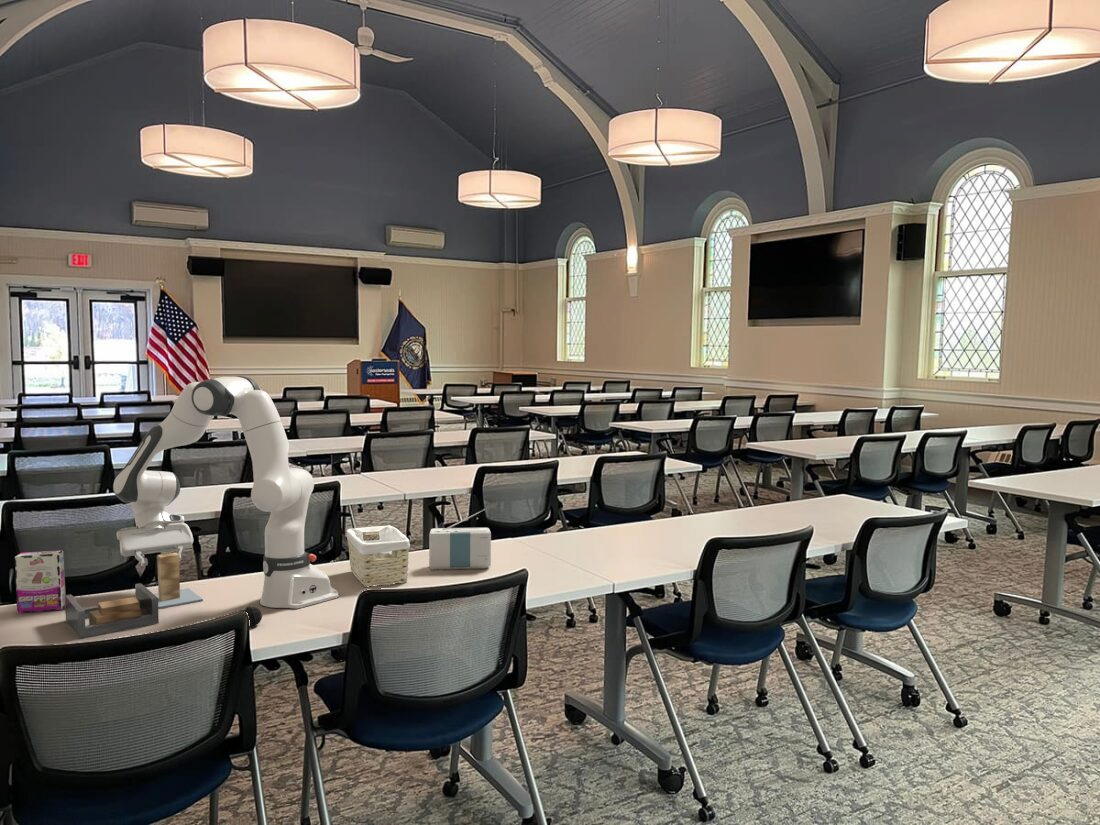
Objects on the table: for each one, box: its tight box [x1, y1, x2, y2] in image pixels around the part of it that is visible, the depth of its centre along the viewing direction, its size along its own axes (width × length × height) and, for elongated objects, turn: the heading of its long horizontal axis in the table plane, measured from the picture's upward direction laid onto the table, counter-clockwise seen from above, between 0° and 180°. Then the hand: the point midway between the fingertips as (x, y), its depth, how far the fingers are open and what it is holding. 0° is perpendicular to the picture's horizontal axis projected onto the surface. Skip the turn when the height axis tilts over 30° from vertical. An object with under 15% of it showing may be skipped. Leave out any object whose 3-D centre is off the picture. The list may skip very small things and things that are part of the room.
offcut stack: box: [88, 596, 143, 626], centre depth 219 cm, size 12×7×6 cm, turn 132°
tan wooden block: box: [157, 552, 181, 601], centre depth 240 cm, size 5×4×13 cm
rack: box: [64, 582, 160, 640], centre depth 220 cm, size 19×18×7 cm
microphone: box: [243, 605, 263, 628], centre depth 214 cm, size 6×6×20 cm
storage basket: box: [346, 524, 411, 588], centre depth 266 cm, size 24×16×15 cm
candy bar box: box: [14, 549, 66, 614], centre depth 230 cm, size 11×5×16 cm, turn 106°
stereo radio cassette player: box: [428, 508, 492, 570], centre depth 279 cm, size 21×8×20 cm, turn 97°
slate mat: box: [153, 587, 204, 610], centre depth 240 cm, size 14×14×1 cm
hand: (161, 562), depth 244 cm, fingers open, 8 cm apart
